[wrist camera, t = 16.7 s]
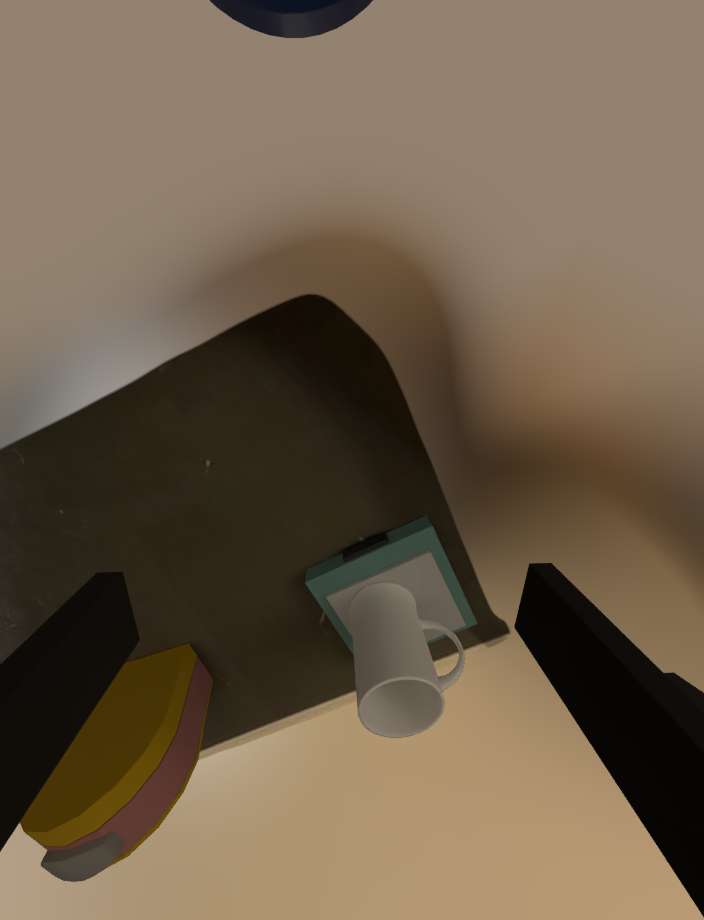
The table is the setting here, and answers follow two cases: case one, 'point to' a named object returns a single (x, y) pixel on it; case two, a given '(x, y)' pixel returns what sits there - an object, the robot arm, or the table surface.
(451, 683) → the mug
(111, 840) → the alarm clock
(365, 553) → the scale
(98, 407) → the table surface
